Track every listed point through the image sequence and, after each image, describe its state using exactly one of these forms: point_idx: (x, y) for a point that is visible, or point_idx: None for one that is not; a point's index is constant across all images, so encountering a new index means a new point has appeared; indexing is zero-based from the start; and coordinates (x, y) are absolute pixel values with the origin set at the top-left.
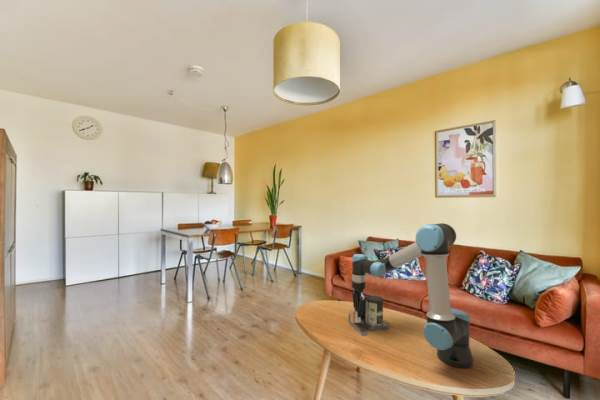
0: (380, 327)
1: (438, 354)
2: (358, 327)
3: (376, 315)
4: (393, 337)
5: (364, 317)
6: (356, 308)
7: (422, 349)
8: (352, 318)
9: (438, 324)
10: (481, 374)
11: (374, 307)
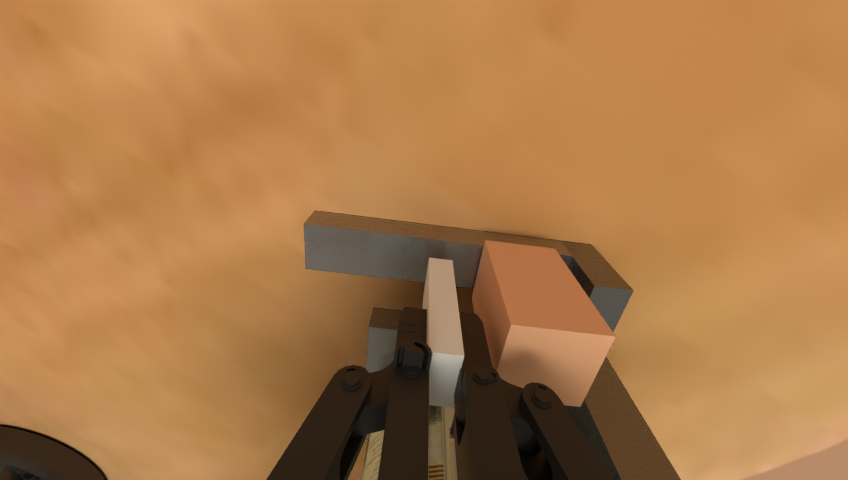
0: None
1: (3, 447)
2: (399, 244)
3: (365, 465)
4: (254, 381)
5: None
6: (464, 396)
7: (109, 421)
8: (509, 265)
9: None
10: None
11: None
